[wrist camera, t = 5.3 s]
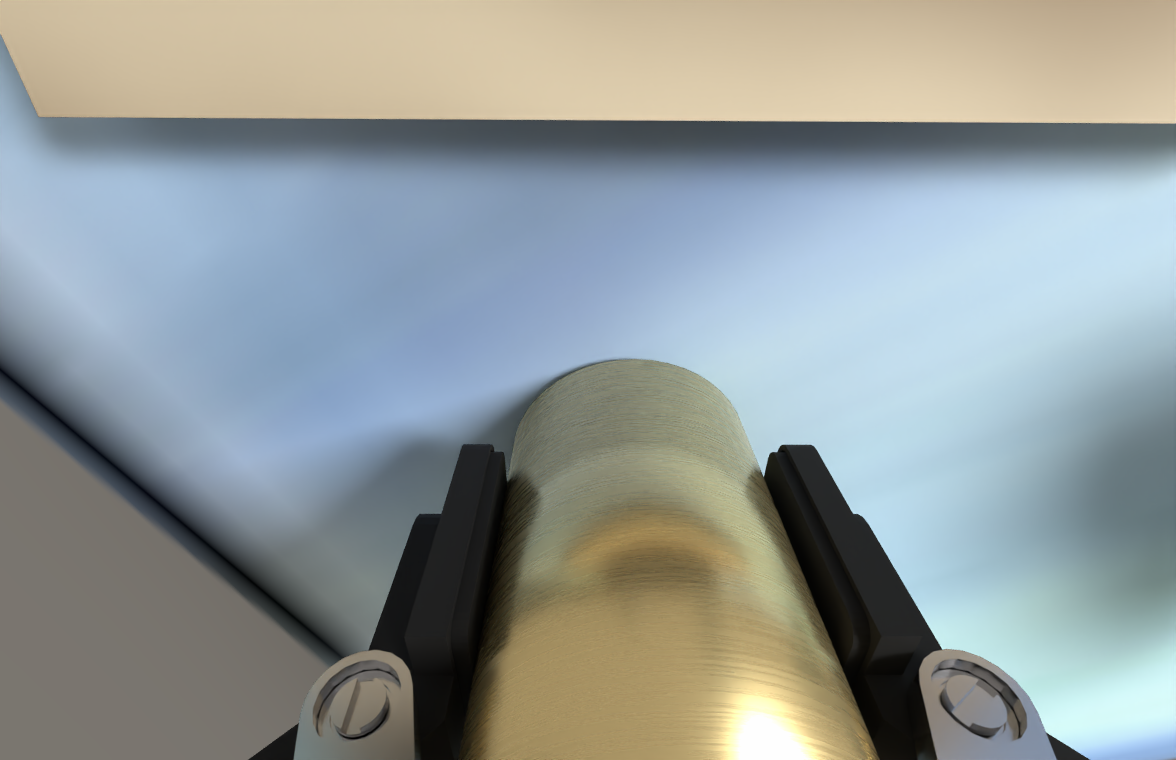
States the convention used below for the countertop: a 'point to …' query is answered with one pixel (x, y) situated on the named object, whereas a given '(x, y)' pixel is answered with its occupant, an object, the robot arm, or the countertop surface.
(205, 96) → the jig plate
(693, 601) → the tan cylinder
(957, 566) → the countertop surface
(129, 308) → the countertop surface
